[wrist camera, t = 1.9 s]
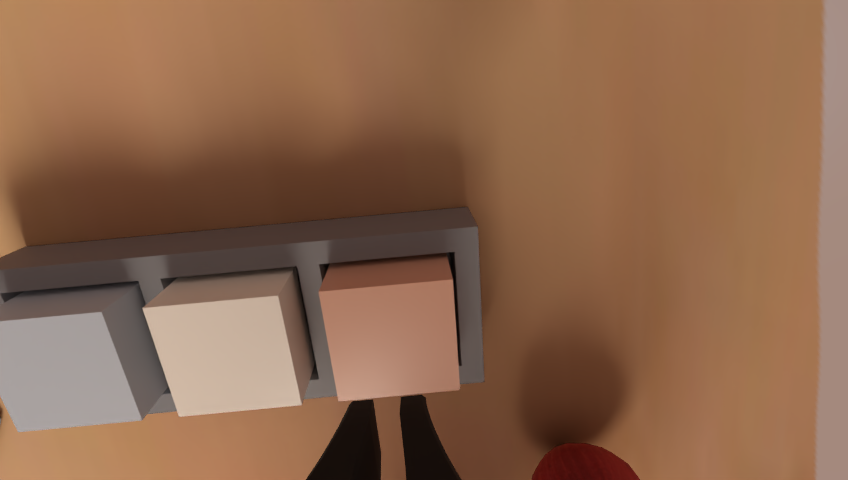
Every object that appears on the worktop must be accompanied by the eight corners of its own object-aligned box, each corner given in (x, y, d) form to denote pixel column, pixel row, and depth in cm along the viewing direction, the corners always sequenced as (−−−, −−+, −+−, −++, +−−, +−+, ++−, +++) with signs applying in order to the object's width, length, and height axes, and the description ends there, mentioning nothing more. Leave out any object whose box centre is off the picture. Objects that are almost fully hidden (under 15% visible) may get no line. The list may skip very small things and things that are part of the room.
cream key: (207, 373, 21) (178, 416, 18) (178, 276, 19) (142, 308, 16) (314, 363, 21) (301, 405, 18) (295, 265, 19) (277, 295, 16)
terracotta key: (346, 360, 21) (338, 401, 18) (330, 262, 19) (318, 291, 16) (452, 350, 21) (460, 389, 18) (446, 252, 19) (453, 279, 16)
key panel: (82, 382, 23) (36, 424, 20) (25, 246, 20) (-36, 273, 18) (474, 345, 23) (484, 382, 20) (467, 206, 21) (477, 226, 18)
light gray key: (68, 387, 20) (18, 432, 18) (26, 290, 19) (-36, 324, 16) (175, 376, 21) (142, 420, 18) (144, 279, 19) (101, 311, 16)
